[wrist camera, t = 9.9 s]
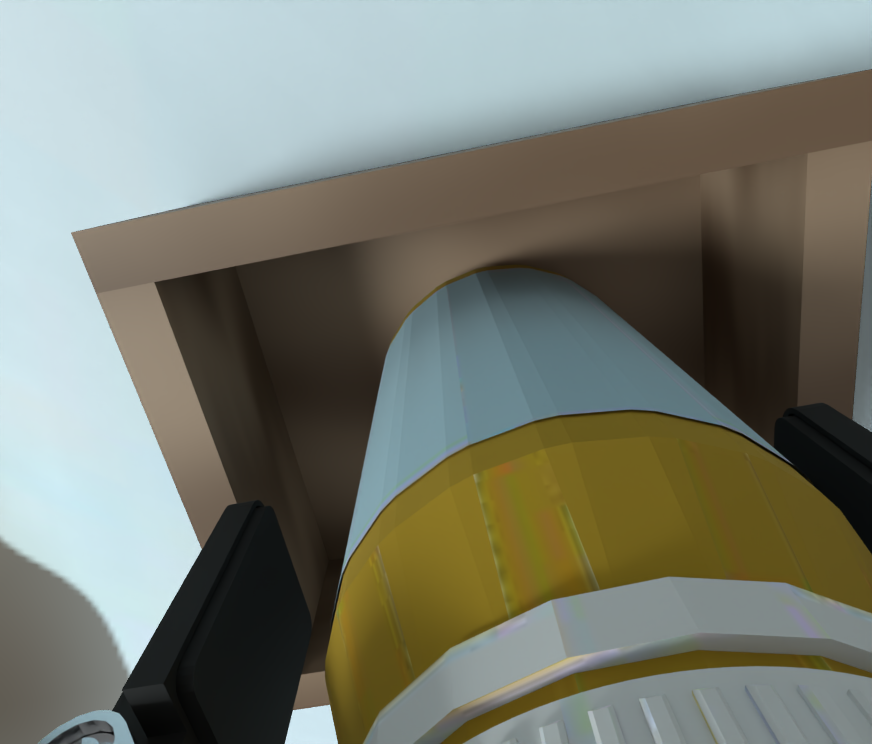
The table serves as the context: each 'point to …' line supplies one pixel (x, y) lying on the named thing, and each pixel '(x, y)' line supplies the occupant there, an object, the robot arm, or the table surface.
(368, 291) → the brown box
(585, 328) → the bottle
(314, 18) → the table surface
